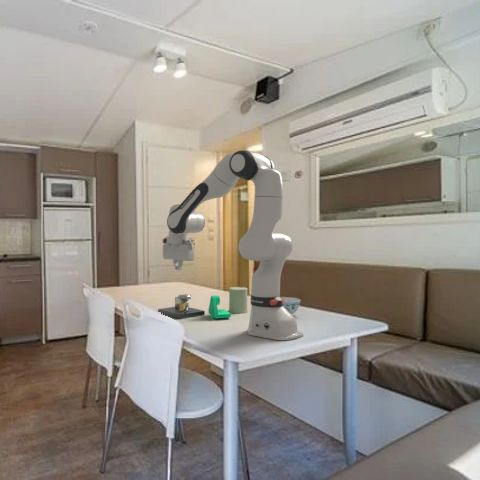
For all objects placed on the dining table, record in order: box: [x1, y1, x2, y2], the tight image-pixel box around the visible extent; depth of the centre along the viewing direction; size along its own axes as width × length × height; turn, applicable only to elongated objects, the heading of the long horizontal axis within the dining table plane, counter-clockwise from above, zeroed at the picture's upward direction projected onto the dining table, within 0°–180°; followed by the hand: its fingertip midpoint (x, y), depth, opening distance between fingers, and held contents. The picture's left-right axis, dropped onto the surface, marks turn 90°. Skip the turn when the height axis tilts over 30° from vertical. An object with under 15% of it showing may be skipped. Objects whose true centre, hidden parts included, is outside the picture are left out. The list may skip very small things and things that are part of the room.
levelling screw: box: [178, 293, 192, 311], centre depth 191 cm, size 12×6×7 cm, turn 178°
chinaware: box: [281, 296, 301, 315], centre depth 194 cm, size 15×15×8 cm
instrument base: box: [157, 295, 206, 320], centre depth 196 cm, size 18×14×8 cm
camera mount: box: [208, 295, 232, 320], centre depth 190 cm, size 12×8×10 cm, turn 18°
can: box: [228, 286, 248, 314], centre depth 204 cm, size 9×9×12 cm
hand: (178, 269), depth 191 cm, fingers closed
